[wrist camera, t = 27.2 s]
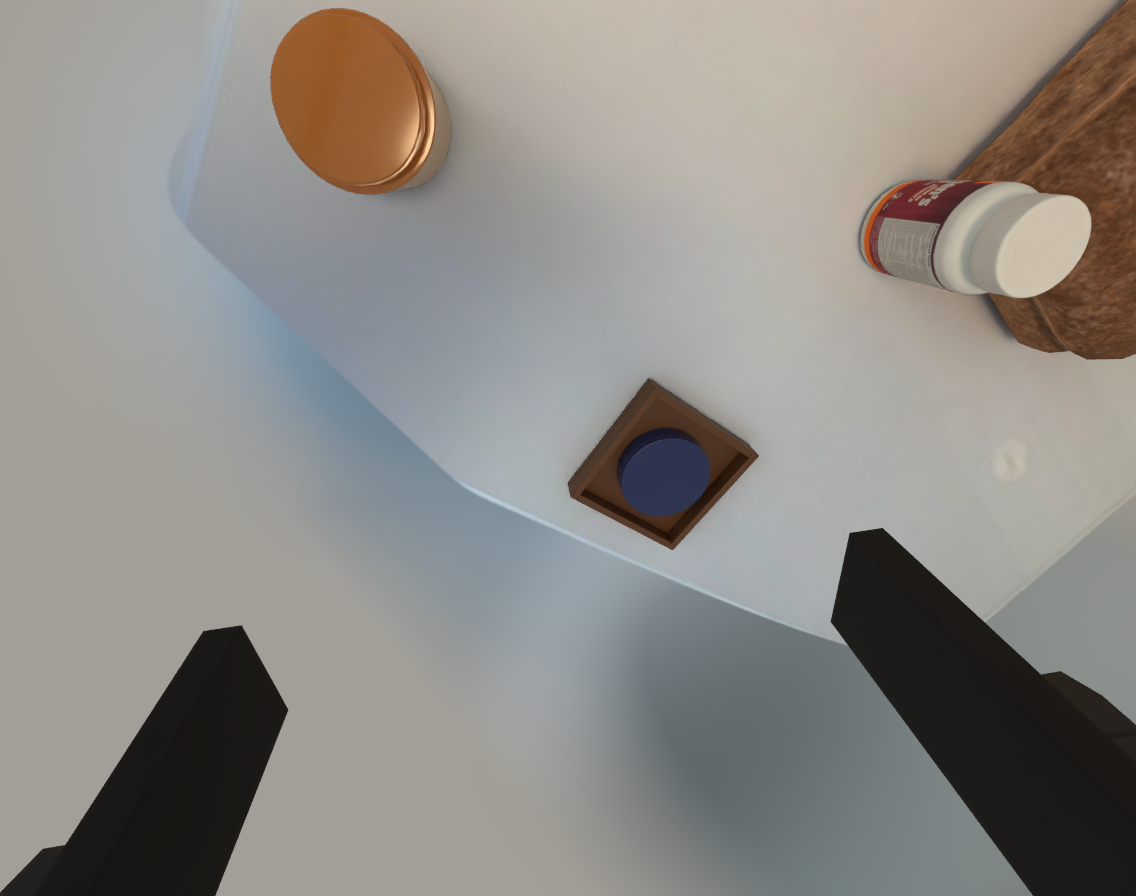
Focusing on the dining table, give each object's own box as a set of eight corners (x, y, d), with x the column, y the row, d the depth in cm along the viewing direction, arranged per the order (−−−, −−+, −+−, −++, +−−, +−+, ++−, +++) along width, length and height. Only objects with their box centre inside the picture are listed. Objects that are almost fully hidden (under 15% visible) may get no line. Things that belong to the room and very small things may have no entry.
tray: (567, 483, 44) (570, 497, 42) (648, 377, 40) (656, 387, 38) (666, 536, 48) (672, 550, 46) (748, 444, 44) (759, 456, 42)
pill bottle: (941, 166, 35) (1115, 163, 25) (938, 256, 38) (1093, 285, 28) (854, 198, 36) (992, 207, 26) (857, 285, 39) (983, 323, 29)
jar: (348, 195, 32) (291, 203, 23) (311, 56, 29) (228, 4, 20) (461, 183, 32) (447, 187, 24) (437, 44, 29) (410, -11, 20)
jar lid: (604, 496, 44) (608, 508, 42) (632, 419, 41) (638, 429, 39) (683, 510, 46) (690, 522, 44) (716, 437, 43) (725, 448, 41)
